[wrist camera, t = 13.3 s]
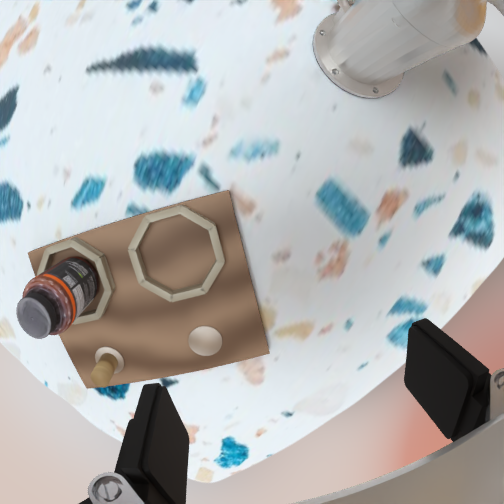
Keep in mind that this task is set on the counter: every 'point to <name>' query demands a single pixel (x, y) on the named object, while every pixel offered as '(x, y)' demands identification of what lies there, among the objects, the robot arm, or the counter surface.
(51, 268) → the supplement bottle
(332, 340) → the counter surface
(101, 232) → the board
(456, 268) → the counter surface
